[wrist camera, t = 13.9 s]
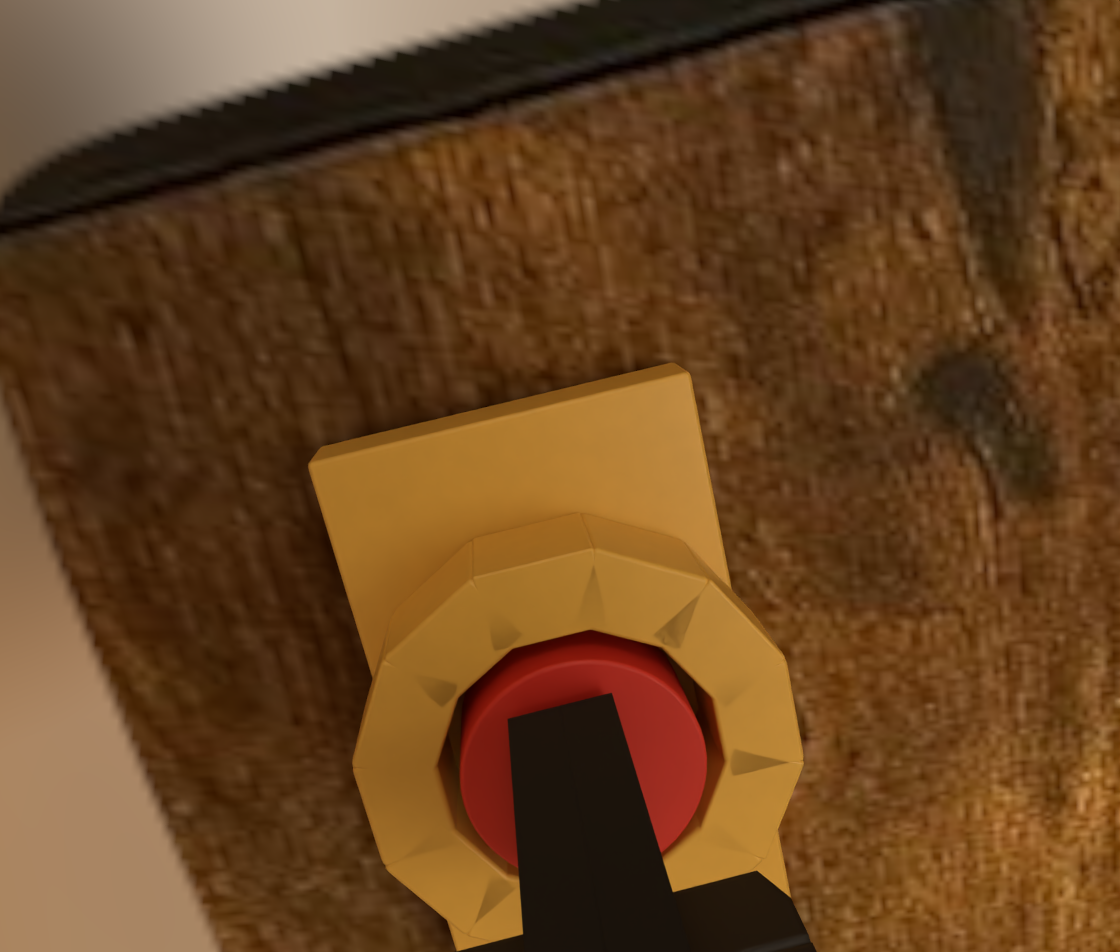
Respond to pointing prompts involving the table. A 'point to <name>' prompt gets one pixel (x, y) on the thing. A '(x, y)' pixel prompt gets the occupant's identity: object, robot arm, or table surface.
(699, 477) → the button block
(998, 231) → the table surface
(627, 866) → the robot arm
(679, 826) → the button
